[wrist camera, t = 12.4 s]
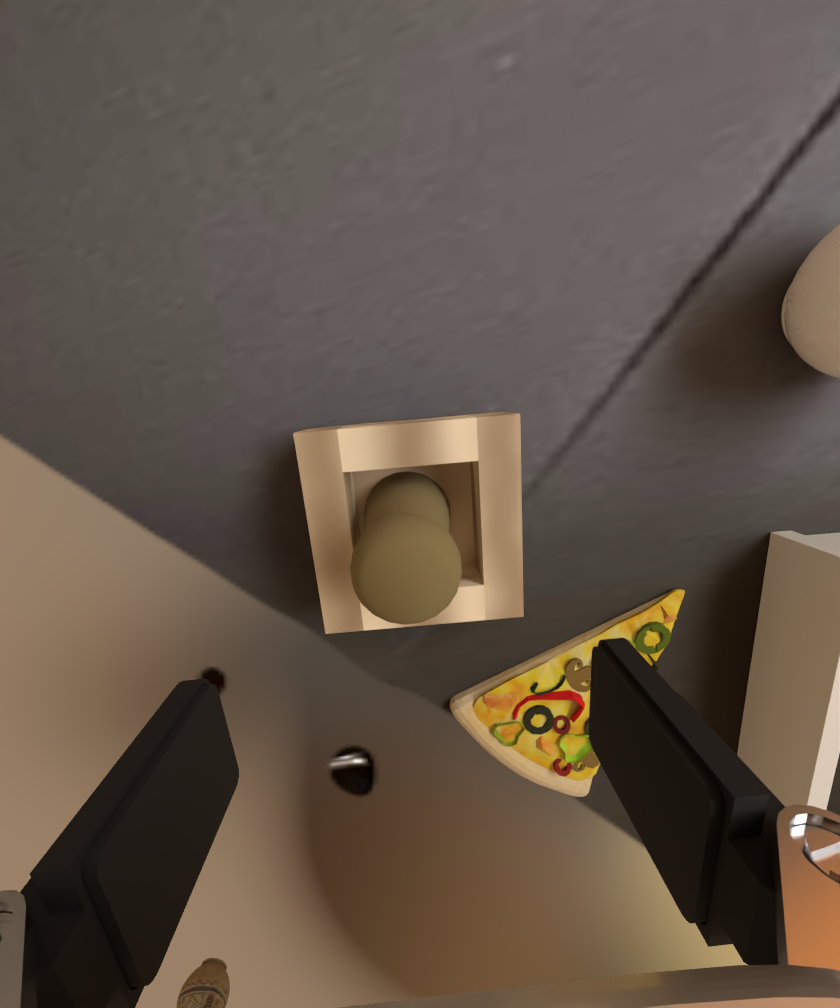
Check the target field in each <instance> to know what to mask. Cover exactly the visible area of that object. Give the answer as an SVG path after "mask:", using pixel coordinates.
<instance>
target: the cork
mask: <svg viewBox="0 0 840 1008" xmlns="http://www.w3.org/2000/svg"><path fill="white" fill-rule="evenodd" d="M450 516H451V515H450V504H449V501H448V499H447V496H446V494H445V492H444V490H443V489H442V488H441V487H440V486H439V485H438V484H437V482H436V481H435V480H433V479H431V478H429V477H427V476H426V475H424V474H421V473H416V472H411V471H406V472H397V473H394V474H391V475H389V476H387V477H385V478H383V479H382V480H380V481H379V482H378V483H377V484H376V485H375V486H374V487H373V488H372V490H371V492H370V493H369V495H368V497H367V499H366V504H365V509H364V521H365V532H364V533H363V534H362V536H361V537H360V539H359V541H358V543H357V544H356V546H355V548H354V550H353V553H352V559H351V565H350V573H351V579H352V585H353V589H354V591H355V593H356V595H357V597H358V599H359V600H360V602H361V604H362V605H363V606H364V607H365V608H367V609H368V610H369V611H370V612H371V613H372V614H373V615H375V616H377V617H379V618H381V619H383V620H385V621H387V622H391V623H397V624H403V625H407V624H416V623H421V622H424V621H426V620H428V619H431V618H433V617H436V616H437V615H438V614H439V613H441V612H442V611H443V610H444V609H445V608H447V607H448V606H449V604H450V603H451V601H452V600H453V598H454V597H455V595H456V593H457V591H458V587H459V583H460V579H461V575H462V565H461V556H460V553H459V550H458V548H457V546H456V544H455V542H454V540H453V537H452V536H451V535H450V534H449V526H450Z"/></svg>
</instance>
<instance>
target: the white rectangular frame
mask: <svg viewBox="0 0 840 1008" xmlns="http://www.w3.org/2000/svg"><path fill="white" fill-rule="evenodd" d="M839 753H840V532H839V533H828V534H816V535H802V534H800V533H797V532H794V531H779V532H771V535H770V541H769V548H768V554H767V561H766V568H765V574H764V581H763V587H762V594H761V600H760V607H759V614H758V620H757V627H756V633H755V640H754V646H753V653H752V660H751V666H750V673H749V679H748V686H747V692H746V699H745V705H744V712H743V719H742V725H741V732H740V738H739V745H738V751H737V755H738V757H739V758H740V759H741V760H742V761H743V762H744V763H745V764H746V765H747V766H748V767H749V768H750V769H751V770H752V772H753V773H754V774H755V775H756V776H757V777H758V778H759V779H760V780H761V781H762V782H763V783H764V784H765V786H766V787H767V788H768V789H769V790H770V791H771V792H772V793H773V794H774V795H775V796H776V797H777V798H778V799H779V801H780V802H781V803H782V804H783V805H784V806H785V807H787V806H792V805H796V804H799V805H808V806H814V807H817V808H821V809H824V810H826V808H827V804H828V800H829V795H830V791H831V787H832V782H833V778H834V774H835V770H836V765H837V761H838V757H839Z"/></svg>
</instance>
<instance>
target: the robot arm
mask: <svg viewBox="0 0 840 1008" xmlns="http://www.w3.org/2000/svg"><path fill="white" fill-rule="evenodd" d="M588 732H589V739H590V743H591V746H592V748H593V751H594V752H595V754H596V756H597V758H598V760H599V762H600V764H601V765H602V767H603V769H604V771H605V773H606V775H607V777H608V778H609V780H610V782H611V784H612V786H613V788H614V789H615V791H616V793H617V795H618V797H619V799H620V801H621V802H622V804H623V806H624V808H625V810H626V812H627V814H628V815H629V817H630V819H631V821H632V823H633V825H634V827H635V828H636V830H637V832H638V834H639V836H640V838H641V840H642V841H643V843H644V845H645V847H646V849H647V851H648V853H649V854H650V856H651V858H652V860H653V862H654V864H655V865H656V867H657V869H658V871H659V873H660V875H661V877H662V878H663V880H664V882H665V884H666V886H667V888H668V889H669V891H670V893H671V895H672V897H673V899H674V901H675V903H676V904H677V906H678V908H679V910H680V911H681V913H682V915H683V916H684V918H685V919H686V920H687V921H688V922H689V923H696V925H697V927H698V929H699V930H700V932H701V934H702V936H703V938H704V939H705V941H706V943H707V945H708V946H718V945H726V944H733V945H734V946H735V948H736V950H737V952H738V953H739V955H740V956H741V958H742V960H743V962H745V963H746V964H748V965H741V966H740V965H737V966H725V967H714V968H701V969H690V970H678V971H666V972H655V973H643V974H633V975H624V976H615V977H606V978H597V979H588V980H578V981H569V982H561V983H551V984H542V985H534V986H524V987H515V988H506V989H496V990H488V991H479V992H470V993H461V994H453V995H444V996H435V997H428V998H418V999H409V1000H401V1001H392V1002H384V1003H376V1004H368V1005H358V1006H350V1007H342V1008H840V816H838V815H836V814H834V813H832V812H830V811H827V810H824V809H821V808H817V807H814V806H808V805H799V804H796V805H792V806H787V807H785V806H784V805H783V804H782V803H781V802H780V801H779V799H778V798H777V797H776V796H775V795H774V794H773V793H772V792H771V791H770V790H769V789H768V788H767V787H766V786H765V784H764V783H763V782H762V781H761V780H760V779H759V778H758V777H757V776H756V775H755V774H754V773H753V772H752V770H751V769H750V768H749V767H748V766H747V765H746V764H745V763H744V762H743V761H742V760H741V759H740V758H739V757H738V755H737V754H736V753H735V752H734V751H733V750H732V749H731V748H730V747H729V746H728V745H727V744H726V743H725V742H724V740H723V739H722V738H721V737H720V736H719V735H718V734H717V733H716V732H715V731H714V730H713V729H712V728H711V727H710V725H709V724H708V723H707V722H706V721H705V720H704V719H703V718H702V717H701V716H700V715H699V714H698V713H697V711H696V710H695V709H694V708H693V707H692V706H691V705H690V704H689V703H688V702H687V701H686V700H685V699H684V698H683V697H682V696H681V695H680V694H678V693H676V692H675V691H674V690H673V689H672V688H671V687H670V686H669V685H668V683H667V682H666V681H665V680H664V679H663V678H662V677H661V676H660V675H659V674H658V673H657V672H656V670H655V669H654V668H653V667H652V666H651V665H650V664H649V663H648V662H647V661H646V660H645V659H644V657H643V656H642V655H641V654H640V653H639V652H638V651H637V650H636V649H635V648H634V647H633V646H632V644H631V643H630V642H629V641H628V640H627V639H625V638H613V639H603V640H600V641H599V643H598V646H595V647H593V649H592V660H591V683H590V707H589V730H588ZM238 778H239V769H238V765H237V761H236V757H235V753H234V749H233V745H232V742H231V738H230V734H229V731H228V727H227V723H226V719H225V715H224V711H223V708H222V704H221V700H220V696H219V693H218V689H217V686H216V685H214V684H211V683H210V681H209V680H208V679H197V680H188V681H182V682H179V683H178V685H176V687H175V688H174V689H173V691H172V692H171V693H170V694H169V696H168V697H167V698H166V700H165V701H164V702H163V703H162V705H161V706H160V707H159V709H158V710H157V711H156V712H155V714H154V715H153V716H152V718H151V719H150V720H149V721H148V723H147V724H146V725H145V727H144V728H143V729H142V731H141V732H140V733H139V734H138V736H137V737H136V738H135V740H134V741H133V742H132V743H131V745H130V746H129V747H128V749H127V750H126V751H125V752H124V754H123V755H122V756H121V757H120V759H119V760H118V761H117V763H116V764H115V765H114V766H113V768H112V769H111V770H110V772H109V773H108V774H107V776H106V777H105V778H104V779H103V781H102V782H101V783H100V784H99V786H98V787H97V788H96V790H95V791H94V792H93V793H92V795H91V796H90V797H89V799H88V800H87V801H86V803H85V804H84V805H83V806H82V808H81V809H80V810H79V811H78V813H77V814H76V815H75V816H74V818H73V819H72V820H71V822H70V823H69V824H68V826H67V827H66V828H65V829H64V831H63V832H62V833H61V834H60V836H59V837H58V839H57V840H56V841H55V842H54V844H53V845H52V846H51V847H50V849H49V850H48V851H47V853H46V854H45V855H44V856H43V858H42V859H41V860H40V861H39V863H38V864H37V865H36V867H35V868H34V869H33V870H32V872H31V873H30V875H31V879H30V880H29V881H28V883H27V884H26V885H25V886H24V888H23V889H22V890H21V892H20V893H19V892H18V891H15V890H10V891H9V890H8V891H7V890H6V891H0V1008H135V1006H136V1004H137V1002H138V999H139V997H140V995H141V993H142V990H143V988H144V986H146V985H149V984H150V983H151V982H152V981H153V979H154V978H155V976H156V975H157V972H158V970H159V968H160V966H161V963H162V961H163V959H164V956H165V954H166V952H167V949H168V947H169V945H170V942H171V940H172V937H173V935H174V933H175V931H176V928H177V926H178V923H179V921H180V919H181V916H182V914H183V912H184V909H185V907H186V905H187V902H188V900H189V897H190V895H191V893H192V890H193V888H194V886H195V883H196V881H197V879H198V876H199V874H200V872H201V869H202V867H203V864H204V862H205V860H206V857H207V855H208V853H209V850H210V848H211V846H212V843H213V841H214V838H215V836H216V833H217V831H218V829H219V826H220V824H221V822H222V819H223V817H224V815H225V812H226V810H227V807H228V805H229V803H230V801H231V798H232V796H233V794H234V791H235V789H236V786H237V783H238Z"/></svg>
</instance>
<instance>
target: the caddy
mask: <svg viewBox="0 0 840 1008" xmlns="http://www.w3.org/2000/svg"><path fill="white" fill-rule="evenodd" d="M293 436H294V442H295V448H296V454H297V460H298V466H299V473H300V479H301V485H302V491H303V497H304V503H305V510H306V516H307V522H308V528H309V534H310V541H311V547H312V553H313V559H314V565H315V571H316V578H317V584H318V590H319V596H320V602H321V608H322V615H323V621H324V627H325V633H326V634H330V633H341V632H353V631H364V630H376V629H387V628H399V627H410V626H422V625H433V624H445V623H456V622H468V621H479V620H491V619H502V618H513V617H524V614H523V555H522V496H521V438H520V414H518V413H508V412H495V413H483V414H471V415H459V416H448V417H436V418H424V419H412V420H401V421H389V422H377V423H365V424H354V425H342V426H330V427H318V428H310V429H307V430H303V431H299V432H295V433H293ZM406 471H411V472H416V473H421V474H424V475H426V476H427V477H429V478H431V479H433V480H435V481H436V482H437V484H438V485H439V486H440V487H441V488H442V489H443V490H444V492H445V494H446V496H447V499H448V501H449V504H450V515H451V516H450V526H449V534H450V535H451V536H452V537H453V540H454V542H455V544H456V546H457V548H458V550H459V553H460V556H461V565H462V575H461V579H460V583H459V587H458V591H457V593H456V595H455V597H454V598H453V600H452V601H451V603H450V604H449V606H448V607H447V608H445V609H444V610H443V611H442V612H441V613H439V614H438V615H437V616H436V617H433V618H431V619H428V620H426V621H424V622H421V623H416V624H407V625H403V624H397V623H391V622H387V621H385V620H383V619H381V618H379V617H377V616H375V615H373V614H372V613H371V612H370V611H369V610H368V609H367V608H365V607H364V606H363V605H362V604H361V602H360V600H359V599H358V597H357V595H356V593H355V591H354V589H353V585H352V579H351V573H350V565H351V559H352V553H353V550H354V548H355V546H356V544H357V543H358V541H359V539H360V537H361V536H362V534H363V533H364V532H365V521H364V509H365V504H366V499H367V497H368V495H369V493H370V492H371V490H372V488H373V487H374V486H375V485H376V484H377V483H378V482H379V481H380V480H382V479H383V478H385V477H387V476H389V475H391V474H394V473H397V472H406Z"/></svg>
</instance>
